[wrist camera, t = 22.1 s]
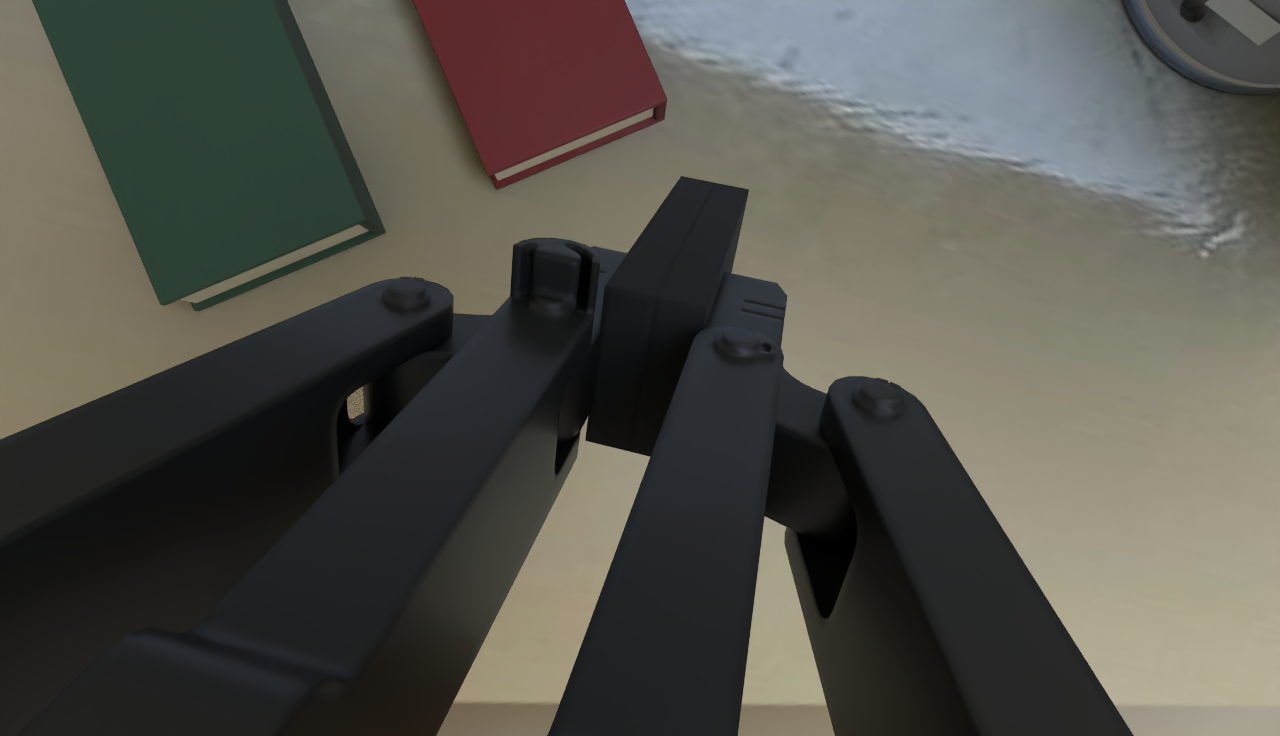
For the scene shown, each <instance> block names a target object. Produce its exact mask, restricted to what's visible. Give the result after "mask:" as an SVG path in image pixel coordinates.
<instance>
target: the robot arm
mask: <svg viewBox="0 0 1280 736" xmlns="http://www.w3.org/2000/svg"><path fill="white" fill-rule="evenodd" d="M1124 3H1125V6H1126V9H1127V11H1128V13H1129V15H1130V17H1131V20H1132V21H1133V23H1134V25H1135V26H1136V28H1137V30H1138V32H1139V33H1140V34H1141V36H1142V37H1143V39H1144V40H1145V41H1146V43H1147V44H1148V45H1149V46H1150V47H1151V48H1152V50H1153V51H1154V52H1155V53H1156V54H1157V55H1158V56H1159V57H1160V58H1161V59H1163V60H1164V61H1165V62H1166V63H1167V64H1168V65H1170V66H1171V67H1172V68H1174V69H1175V70H1176V71H1178V72H1180V73H1181V74H1183V75H1184V76H1186V77H1188V78H1190V79H1192V80H1194V81H1196V82H1198V83H1200V84H1202V85H1205V86H1207V87H1210V88H1213V89H1217V90H1220V91H1224V92H1230V93H1235V94H1246V95H1264V94H1272V93H1278V92H1280V0H1124ZM748 192H749V190H748V189H743V188H738V187H733V186H728V185H723V184H718V183H713V182H708V181H703V180H698V179H693V178H688V177H683V176H681V177H680V179H679V180H678V182H677V183H676V185H675V186H674V187H673V189H672V190H671V192H670V193H669V195H668V196H667V198H666V199H665V200H664V202H663V203H662V205H661V206H660V208H659V209H658V210H657V212H656V213H655V215H654V216H653V218H652V219H651V220H650V222H649V223H648V225H647V226H646V228H645V229H644V231H643V232H642V233H641V235H640V236H639V238H638V239H637V241H636V242H635V243H634V245H633V246H632V248H631V249H630V251H629V252H628V253H623V252H618V251H614V250H609V249H604V248H600V247H595V246H593V247H588V246H586V245H584V244H581V243H578V242H574V241H571V240H565V239H558V238H533V239H528V240H522V241H520V242H519V243H517V244H515V245H513V259H512V275H511V292H510V297H509V298H508V299H507V300H506V301H505V302H504V304H503V305H502V306H501V307H500V308H499V309H498V310H497V311H496V312H495V313H494V314H493V315H471V314H456V313H453V298H454V296H453V295H452V294H451V292H450V291H449V290H448V289H447V288H445V287H443V286H441V285H439V284H437V283H434V282H430V281H426V280H425V279H423V278H416V277H414V278H413V279H412V277H400V278H398V279H387V280H383V281H380V282H376V283H372V284H370V285H367V286H365V287H363V288H360V289H358V290H356V291H353V292H351V293H348V294H346V295H344V296H341V297H339V298H337V299H334V300H332V301H329V302H327V303H325V304H322V305H320V306H317V307H315V308H313V309H310V310H308V311H306V312H303V313H301V314H298V315H296V316H294V317H291V318H289V319H287V320H284V321H282V322H279V323H277V324H275V325H272V326H270V327H267V328H265V329H263V330H260V331H258V332H256V333H253V334H251V335H248V336H246V337H244V338H241V339H239V340H236V341H234V342H232V343H229V344H227V345H225V346H222V347H220V348H217V349H215V350H213V351H210V352H208V353H206V354H203V355H201V356H198V357H196V358H194V359H191V360H189V361H186V362H184V363H182V364H179V365H177V366H175V367H172V368H170V369H167V370H165V371H163V372H160V373H158V374H156V375H153V376H151V377H148V378H146V379H144V380H141V381H139V382H136V383H134V384H132V385H129V386H127V387H125V388H122V389H120V390H117V391H115V392H113V393H110V394H108V395H106V396H103V397H101V398H98V399H96V400H94V401H91V402H89V403H86V404H84V405H82V406H79V407H77V408H75V409H72V410H70V411H67V412H65V413H63V414H60V415H58V416H55V417H53V418H51V419H48V420H46V421H44V422H41V423H39V424H36V425H34V426H32V427H29V428H27V429H25V430H22V431H20V432H17V433H15V434H13V435H10V436H8V437H5V438H3V439H1V440H0V736H436V735H437V733H438V731H439V729H440V727H441V725H442V723H443V721H444V719H445V717H446V715H447V713H448V711H449V709H450V707H451V705H452V703H453V701H454V699H455V697H456V695H457V693H458V691H459V689H460V687H461V685H462V683H463V681H464V679H465V677H466V676H467V674H468V672H469V670H470V668H471V666H472V664H473V662H474V660H475V658H476V656H477V654H478V652H479V650H480V648H481V646H482V644H483V642H484V640H485V638H486V636H487V634H488V632H489V630H490V628H491V626H492V624H493V622H494V620H495V618H496V616H497V614H498V612H499V610H500V608H501V606H502V604H503V602H504V600H505V598H506V596H507V594H508V592H509V591H510V589H511V587H512V585H513V583H514V581H515V579H516V577H517V575H518V573H519V571H520V569H521V567H522V565H523V563H524V561H525V559H526V557H527V555H528V553H529V551H530V549H531V547H532V545H533V543H534V541H535V539H536V537H537V535H538V533H539V531H540V529H541V527H542V525H543V523H544V521H545V519H546V517H547V515H548V513H549V511H550V509H551V507H552V506H553V504H554V502H555V500H556V498H557V496H558V494H559V492H560V490H561V488H562V486H563V484H564V482H565V480H566V478H567V476H568V474H569V472H570V470H571V468H572V466H573V464H574V462H575V460H576V458H577V453H578V446H579V438H580V430H581V428H582V426H583V425H584V423H585V421H586V419H587V417H588V424H587V432H586V440H585V441H589V442H593V443H597V444H601V445H606V446H610V447H614V448H618V449H622V450H626V451H630V452H634V453H638V454H642V455H646V456H650V460H649V463H648V465H647V468H646V471H645V474H644V476H643V479H642V482H641V484H640V487H639V490H638V493H637V495H636V498H635V501H634V504H633V506H632V509H631V512H630V514H629V517H628V520H627V523H626V525H625V528H624V531H623V533H622V536H621V539H620V542H619V544H618V547H617V550H616V552H615V555H614V558H613V561H612V563H611V566H610V569H609V572H608V574H607V577H606V580H605V582H604V585H603V588H602V591H601V593H600V596H599V599H598V601H597V604H596V607H595V610H594V612H593V615H592V618H591V620H590V623H589V626H588V629H587V631H586V634H585V637H584V640H583V642H582V645H581V648H580V650H579V653H578V656H577V659H576V661H575V664H574V667H573V669H572V672H571V675H570V678H569V680H568V683H567V686H566V689H565V691H564V694H563V697H562V699H561V702H560V705H559V708H558V710H557V713H556V716H555V718H554V721H553V724H552V726H551V729H550V731H549V733H548V735H547V736H738V727H739V719H740V711H741V703H742V695H743V687H744V678H745V670H746V662H747V654H748V646H749V638H750V629H751V621H752V613H753V605H754V597H755V588H756V580H757V572H758V564H759V556H760V548H761V539H762V531H763V523H764V516H766V517H768V518H770V519H772V520H774V521H776V522H778V523H780V524H782V525H784V526H786V531H785V547H786V551H787V555H788V559H789V563H790V566H791V570H792V574H793V578H794V582H795V585H796V589H797V593H798V597H799V601H800V604H801V608H802V612H803V616H804V620H805V623H806V627H807V631H808V635H809V639H810V642H811V646H812V650H813V654H814V658H815V661H816V665H817V669H818V673H819V677H820V680H821V684H822V688H823V692H824V695H825V699H826V703H827V707H828V711H829V714H830V718H831V722H832V726H833V730H834V733H835V736H1133V734H1132V732H1131V731H1130V729H1129V728H1128V726H1127V724H1126V723H1125V721H1124V720H1123V718H1122V717H1121V715H1120V713H1119V712H1118V711H1117V709H1116V707H1115V706H1114V704H1113V702H1112V701H1111V699H1110V698H1109V696H1108V694H1107V693H1106V691H1105V690H1104V688H1103V687H1102V685H1101V683H1100V682H1099V680H1098V679H1097V677H1096V676H1095V674H1094V672H1093V671H1092V669H1091V668H1090V666H1089V665H1088V663H1087V661H1086V660H1085V658H1084V657H1083V655H1082V653H1081V652H1080V650H1079V649H1078V647H1077V646H1076V644H1075V642H1074V641H1073V639H1072V638H1071V636H1070V635H1069V633H1068V631H1067V630H1066V628H1065V627H1064V625H1063V624H1062V622H1061V620H1060V619H1059V617H1058V616H1057V614H1056V612H1055V611H1054V609H1053V608H1052V606H1051V605H1050V603H1049V601H1048V600H1047V598H1046V597H1045V595H1044V594H1043V592H1042V590H1041V589H1040V587H1039V586H1038V584H1037V583H1036V581H1035V579H1034V578H1033V576H1032V575H1031V573H1030V571H1029V570H1028V568H1027V567H1026V565H1025V564H1024V562H1023V560H1022V559H1021V557H1020V556H1019V554H1018V553H1017V551H1016V549H1015V548H1014V546H1013V545H1012V543H1011V542H1010V540H1009V538H1008V537H1007V535H1006V534H1005V532H1004V530H1003V529H1002V527H1001V526H1000V524H999V523H998V521H997V519H996V518H995V516H994V515H993V513H992V512H991V510H990V508H989V507H988V505H987V504H986V502H985V500H984V499H983V497H982V496H981V494H980V493H979V491H978V489H977V488H976V486H975V485H974V483H973V482H972V480H971V478H970V477H969V475H968V474H967V472H966V471H965V469H964V467H963V466H962V464H961V463H960V461H959V459H958V458H957V456H956V455H955V453H954V452H953V450H952V448H951V447H950V445H949V444H948V442H947V441H946V439H945V437H944V436H943V434H942V433H941V431H940V430H939V428H938V426H937V425H936V423H935V422H934V420H933V418H932V417H931V415H930V414H929V412H928V411H927V409H926V407H925V406H924V405H923V404H922V403H921V402H920V401H919V400H918V399H917V398H916V397H915V396H914V395H912V394H911V393H909V392H907V391H906V390H904V389H903V388H901V387H900V386H899V385H897V384H895V383H892V382H890V383H888V381H887V380H884V379H880V378H875V379H874V378H869V377H862V376H848V377H844V378H841V379H837V380H835V381H834V382H833V383H832V385H831V386H830V387H829V390H828V393H827V394H826V393H823V392H821V391H818V390H816V389H813V388H811V387H809V386H807V385H805V384H803V383H801V382H800V381H798V380H797V379H795V378H794V377H792V376H791V375H790V374H789V373H788V372H787V371H786V370H785V369H784V367H783V360H784V356H783V353H782V349H781V341H782V333H783V325H784V317H785V309H786V302H787V295H786V294H785V293H784V291H783V290H782V289H781V287H780V286H779V285H778V283H774V282H769V281H765V280H760V279H755V278H750V277H746V276H741V275H736V274H732V273H731V272H732V267H733V262H734V258H735V253H736V248H737V244H738V239H739V234H740V230H741V225H742V220H743V215H744V211H745V206H746V201H747V197H748ZM361 387H363V397H364V413H362V414H361V415H359V416H357V417H356V418H353V419H349V416H348V411H347V398H348V397H349V396H350V395H351V394H352V393H353V392H354V391H356V390H357V389H359V388H361ZM588 415H589V416H588Z"/></svg>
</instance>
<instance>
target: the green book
mask: <svg viewBox="0 0 1280 736" xmlns="http://www.w3.org/2000/svg"><path fill="white" fill-rule="evenodd" d="M32 1H33V4H34V6H35V9H36V11H37V13H38V16H39V18H40V20H41V23H42V25H43V27H44V30H45V32H46V35H47V37H48V39H49V42H50V44H51V46H52V49H53V51H54V54H55V56H56V58H57V61H58V63H59V65H60V68H61V70H62V72H63V75H64V77H65V80H66V82H67V84H68V87H69V89H70V91H71V94H72V96H73V99H74V101H75V103H76V106H77V108H78V110H79V113H80V115H81V117H82V120H83V122H84V125H85V127H86V129H87V132H88V134H89V136H90V139H91V141H92V144H93V146H94V148H95V151H96V153H97V155H98V158H99V160H100V162H101V165H102V167H103V170H104V172H105V174H106V177H107V179H108V181H109V184H110V186H111V189H112V191H113V193H114V196H115V198H116V200H117V203H118V205H119V207H120V210H121V212H122V215H123V217H124V219H125V222H126V224H127V226H128V229H129V231H130V234H131V236H132V238H133V241H134V243H135V245H136V248H137V250H138V253H139V255H140V257H141V260H142V262H143V264H144V267H145V269H146V271H147V274H148V276H149V279H150V281H151V283H152V286H153V288H154V290H155V293H156V295H157V298H158V300H159V302H160V304H161V305H168V304H170V303H172V302H175V301H177V300H182V301H187V302H191V304H192V306H193V309H194V310H195V311H200V310H203V309H205V308H207V307H210V306H212V305H215V304H217V303H219V302H222V301H224V300H226V299H229V298H231V297H234V296H236V295H238V294H241V293H243V292H245V291H248V290H250V289H253V288H255V287H257V286H260V285H262V284H265V283H267V282H269V281H272V280H274V279H276V278H279V277H281V276H284V275H286V274H288V273H291V272H293V271H296V270H298V269H300V268H303V267H305V266H307V265H310V264H312V263H315V262H317V261H319V260H322V259H324V258H327V257H329V256H331V255H334V254H336V253H338V252H341V251H343V250H346V249H348V248H350V247H353V246H355V245H358V244H360V243H362V242H365V241H367V240H369V239H372V238H374V237H377V236H379V235H381V234H384V233H386V231H385V229H384V226H383V224H382V222H381V219H380V217H379V215H378V212H377V210H376V208H375V205H374V203H373V201H372V198H371V196H370V194H369V191H368V189H367V187H366V184H365V182H364V180H363V177H362V175H361V173H360V170H359V168H358V166H357V163H356V161H355V159H354V156H353V154H352V151H351V149H350V147H349V144H348V142H347V140H346V137H345V135H344V133H343V130H342V128H341V126H340V123H339V121H338V119H337V116H336V114H335V112H334V109H333V107H332V105H331V102H330V100H329V98H328V95H327V93H326V91H325V88H324V86H323V83H322V81H321V79H320V76H319V74H318V72H317V69H316V67H315V65H314V62H313V60H312V58H311V55H310V53H309V51H308V48H307V46H306V44H305V41H304V39H303V37H302V34H301V32H300V30H299V27H298V25H297V23H296V20H295V18H294V15H293V13H292V11H291V8H290V6H289V4H288V1H287V0H32Z"/></svg>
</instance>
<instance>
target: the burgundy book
mask: <svg viewBox="0 0 1280 736" xmlns="http://www.w3.org/2000/svg"><path fill="white" fill-rule="evenodd" d="M413 2H414V4H415V7H416V9H417V11H418V14H419V16H420V18H421V21H422V23H423V25H424V28H425V30H426V32H427V35H428V37H429V39H430V42H431V44H432V46H433V49H434V51H435V53H436V56H437V58H438V60H439V63H440V65H441V67H442V70H443V72H444V74H445V77H446V79H447V81H448V84H449V86H450V88H451V91H452V93H453V95H454V98H455V100H456V102H457V105H458V107H459V109H460V112H461V114H462V116H463V119H464V121H465V123H466V126H467V128H468V130H469V133H470V135H471V137H472V140H473V142H474V144H475V147H476V149H477V151H478V154H479V156H480V158H481V161H482V163H483V165H484V168H485V170H486V172H487V174H488V176H491V177H492V180H493V182H494V184H495V187H496V188H497V189H500V188H502V187H505V186H507V185H509V184H512V183H514V182H517V181H519V180H521V179H524V178H526V177H529V176H531V175H533V174H536V173H538V172H540V171H543V170H545V169H548V168H550V167H552V166H555V165H557V164H560V163H562V162H564V161H567V160H569V159H571V158H574V157H576V156H579V155H581V154H583V153H586V152H588V151H591V150H593V149H595V148H598V147H600V146H602V145H605V144H607V143H610V142H612V141H614V140H617V139H619V138H622V137H624V136H626V135H629V134H631V133H633V132H636V131H638V130H641V129H643V128H645V127H648V126H650V125H653V124H655V123H657V122H660V121H662V120H664V116H665V109H666V103H667V98H666V95H665V93H664V91H663V89H662V86H661V84H660V82H659V79H658V77H657V75H656V72H655V70H654V68H653V65H652V63H651V61H650V58H649V56H648V54H647V51H646V49H645V47H644V45H643V42H642V40H641V38H640V35H639V33H638V31H637V28H636V26H635V24H634V21H633V19H632V17H631V14H630V12H629V10H628V7H627V5H626V3H625V1H624V0H413Z"/></svg>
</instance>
